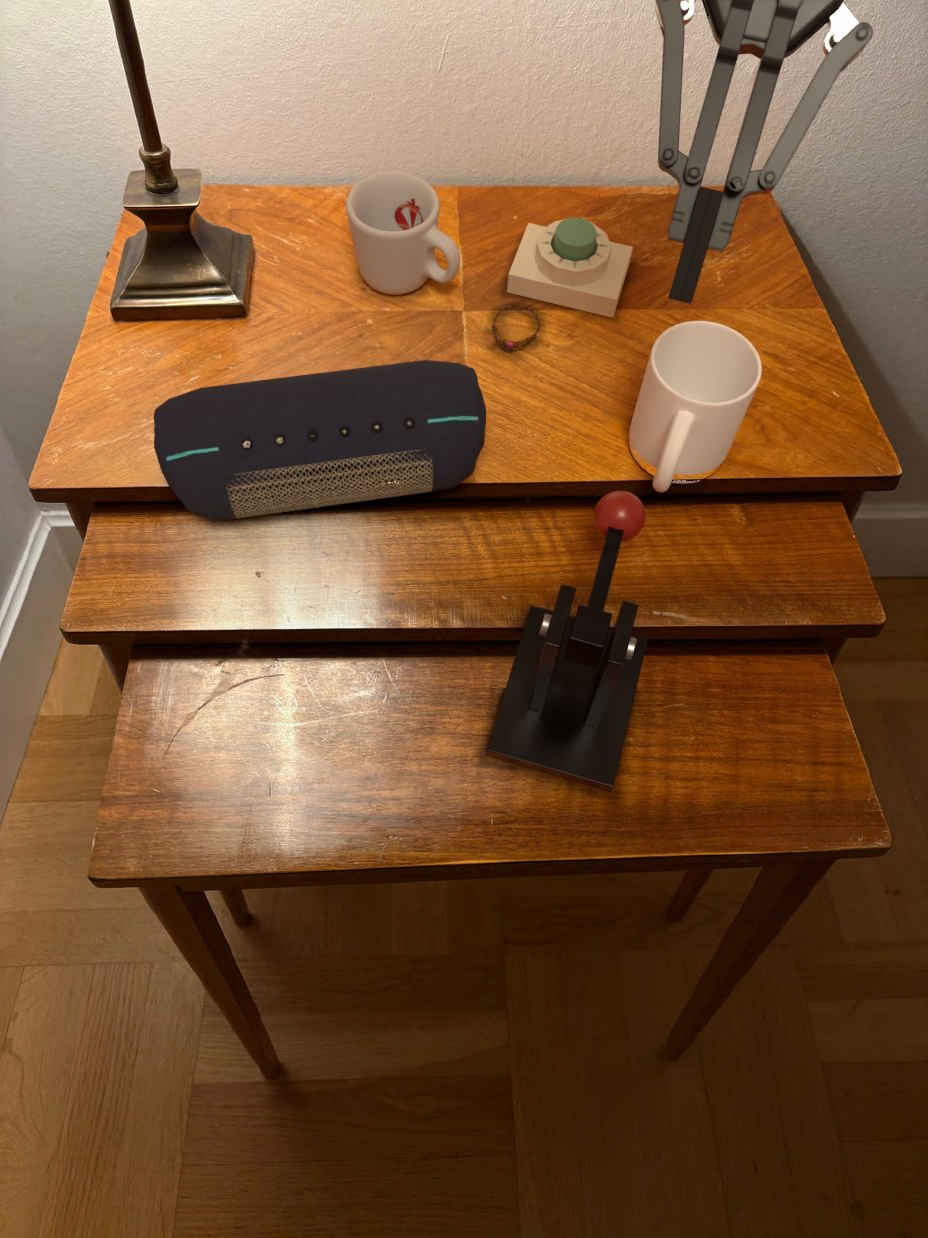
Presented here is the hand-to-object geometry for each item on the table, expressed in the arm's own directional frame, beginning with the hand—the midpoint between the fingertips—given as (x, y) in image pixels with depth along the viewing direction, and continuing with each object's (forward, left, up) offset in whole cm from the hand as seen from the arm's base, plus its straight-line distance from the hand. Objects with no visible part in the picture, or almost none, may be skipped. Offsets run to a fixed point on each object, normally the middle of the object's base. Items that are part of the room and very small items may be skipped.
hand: (679, 299), depth 62 cm
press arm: (0, +15, -13) cm, 19 cm away
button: (+10, -21, -16) cm, 29 cm away
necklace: (+13, -13, -20) cm, 27 cm away
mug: (-3, -3, -20) cm, 21 cm away
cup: (+24, -16, -20) cm, 35 cm away
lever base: (0, +20, -20) cm, 28 cm away
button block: (+10, -21, -20) cm, 31 cm away
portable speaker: (+23, +7, -20) cm, 31 cm away
